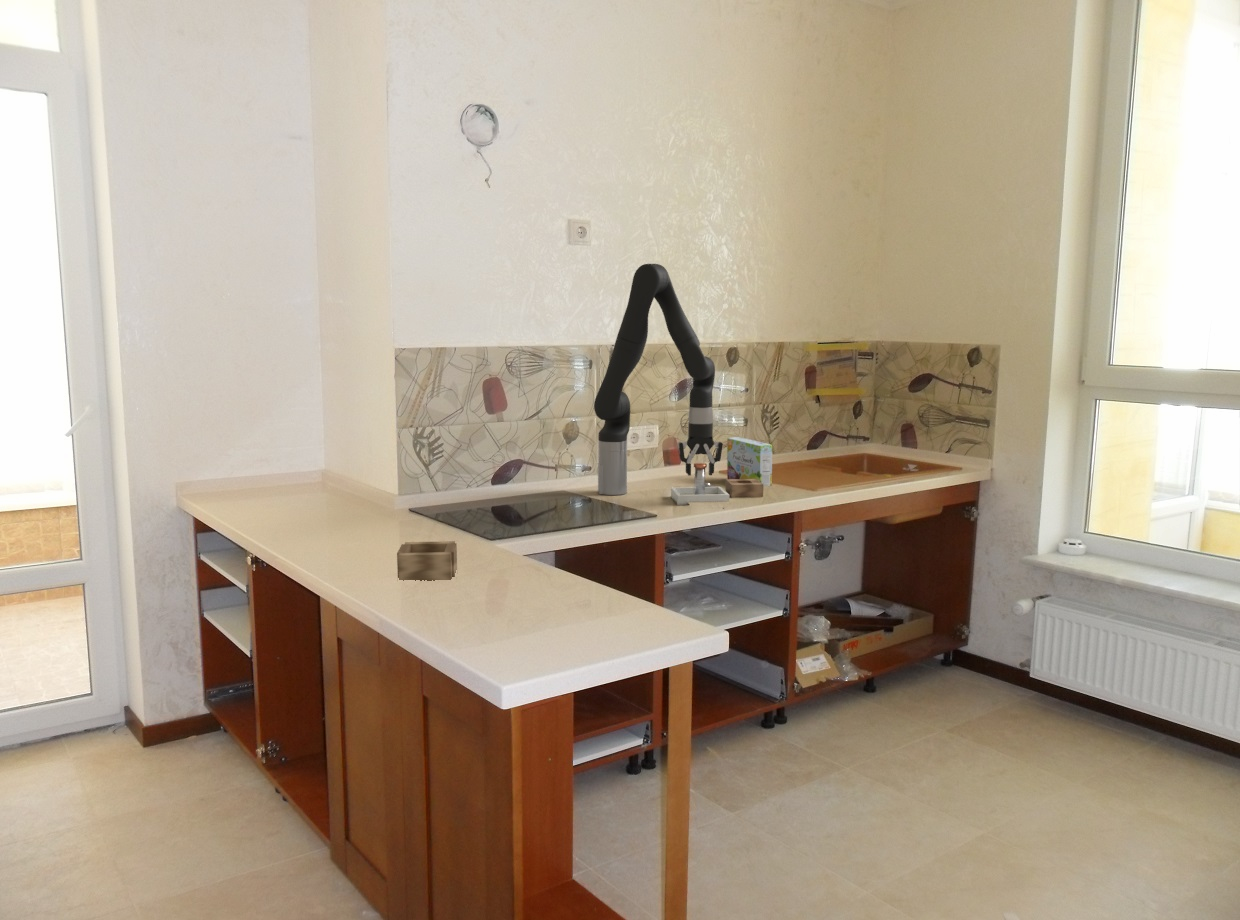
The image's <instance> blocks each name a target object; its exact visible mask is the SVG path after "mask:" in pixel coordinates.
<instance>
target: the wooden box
mask: <svg viewBox="0 0 1240 920" xmlns="http://www.w3.org/2000/svg"><path fill="white" fill-rule="evenodd" d="M724 490H725V491H726V492H727V493H728V494H729V497H730V498H734V499H735V498H764V486H763V484H762V483H761V482H760V481H758V480H757V479H727V478H725V489H724Z"/></svg>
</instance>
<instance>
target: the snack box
mask: <svg viewBox="0 0 1240 920" xmlns="http://www.w3.org/2000/svg"><path fill="white" fill-rule="evenodd" d="M726 442H727V445H726V446H727V447H726V450H727V451H726V453H727V455H726V456H727V458H726V459H727V462H726V463H727V466H726V467H727V470H726V473H727V474H726V475H727V476H726V479H757V480H758V481H760V482H761V483H762V484H763V487H769V486H770V487H771V486H772V483H773V482H772V481H773V480H772V478H773V444H770V443H766V442H762V441H758V440H754V439H750V438H746V437H745V438H744V437H741V436H732V437H727V441H726Z"/></svg>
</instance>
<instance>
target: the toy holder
mask: <svg viewBox="0 0 1240 920" xmlns="http://www.w3.org/2000/svg"><path fill="white" fill-rule="evenodd" d="M457 546H458V545H457V542H456V541H455V540H454V541H453V540H450V541H449V540H447V541H445V540H443V541H405V542H404V543H403V544H401V545H400V547H399V549H398V550H397V552H396V558H397V559H396V564H397V567H396V568H397V579H398V578H399V580H403V581H404V580H415V581H416V580H420V581H422V580H424V581H425V580H427V581H432V580H433V581H435V580H451V579H452V577H455V573H456V570H457V571H458V554H457V553H458V550H457V549H458V548H457Z"/></svg>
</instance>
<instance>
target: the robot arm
mask: <svg viewBox="0 0 1240 920" xmlns="http://www.w3.org/2000/svg"><path fill="white" fill-rule="evenodd" d="M654 299H655V301H656V302H657V304H658V305H659V307H660V309H661V311H662V315H663V317H664V321H665V324H666V328H667V331H668V333H669V335H670V338H671V340H672V341H673V343H674V345H675V346H676V348H677V350H678V351H679V354H680V357H681V360H682V362H683V365H684V367H685V369H686V372H687V373H688V375H689V376H690V377H691V378H692V387H691V389H690V392H689V409H688V418H687V420H688V427H687V428H688V430H687V431H688V433H687V435H688V437H687V440H686V441H678V442H677V446H678V453H679V454H678V456H679V460H680V461H681V462H682V463H685V473H686V474H687V476H692V460H693V458H694V457H695V455H706V457H707V459H708V461H709V462H708V475H709V476H713V474H714V473H715V464H716V463H718V462H720V461H721V460H722V459H721V458H722V453H723V445H724V444H723V442H721V441H714V438H713V437H714V436H713V435H714V433H713V430H714V425H713V424H714V413H713V389H714V382H715V377H716V366H715V363H714V361H713V360H712V358H710V357H709V356H705V354H704V353H703V351H702V349H701V347H700V344H701V343H700V339H699V337H698V336H697V334H696V332H695V330H694V329H693V327H692V325H691V323H690V322H689V320H688V318H687V316H686V314H685V311H684V310H683V307H682V306H681V304H680V301H679V298H678V296H677V294H676V291H675V289H674V285H673V283H672V280H671V277H670V275H669V272H668V270H667V268H666V267H665V266H663V265H661V264H660V263H644V264H642V265H639V267H638V268H637V269H636V270H635V272H634V274H633V277H632V282H631V288H630V293H629V297H628V302H627V305H626V308H625V312H624V314H623V317H622V321H621V324H620V327H619V330H618V333H617V335H616V339H615V343H614V345H613V349H612V353H611V356H610V359H609V362H608V365H607V369H606V371H605V376H604V377H603V380H602V382H601V383H600V384H601V385H600V387H599V389H598V392H597V394H596V396H595V397H594V398H595V399H594V403H593V409H594V410H593V411H594V413H595V415H596V416H597V418H598V419H600V420H601V421H604V424H603V427H602V428H601V429H600V430H599V432H598V462H597V492H598V495H605V496H606V495H607V496H617V495H619V496H620V495H625V494H627V493H628V485H627V484H628V434H629V431H630V426H631V423H630V422H631V402H630V398H629V396H628V394H626V393H625V391H623V390H624V386H625V384H626V381H627V380H628V378H629V377H630V375H631V374H632V372H633V371H634V369H636V366H637V365H638V363H639V362H640V360H641V359H642V356H643V354H644V350H645V346H646V344H647V341H648V335H649V313H650V309H651V306H652V304H653V302H654V301H653V300H654ZM686 447H688V448H689V451H688V453H687V454H688V455H687V457H685V449H686ZM712 447H714V449H716V450H715V456H714V457H713V454H712V452H711V449H712Z"/></svg>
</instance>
